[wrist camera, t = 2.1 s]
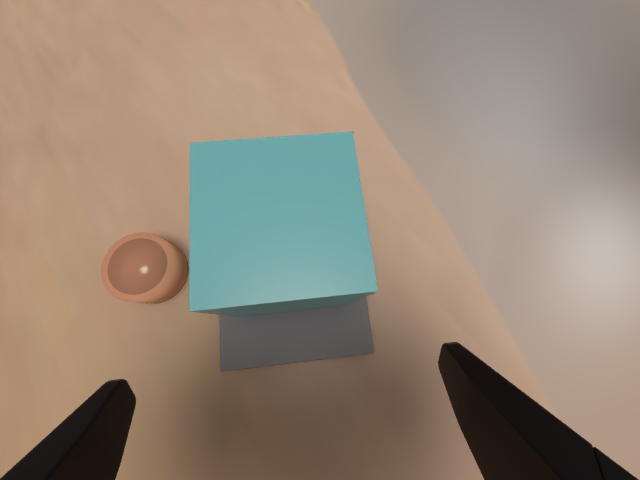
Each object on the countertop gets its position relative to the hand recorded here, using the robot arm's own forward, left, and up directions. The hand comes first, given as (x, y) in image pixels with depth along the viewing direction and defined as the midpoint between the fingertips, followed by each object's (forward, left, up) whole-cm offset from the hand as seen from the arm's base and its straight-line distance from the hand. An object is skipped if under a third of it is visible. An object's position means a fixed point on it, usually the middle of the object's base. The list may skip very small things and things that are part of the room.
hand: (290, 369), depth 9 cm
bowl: (+6, +10, -12) cm, 17 cm away
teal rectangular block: (+6, 0, -12) cm, 13 cm away
